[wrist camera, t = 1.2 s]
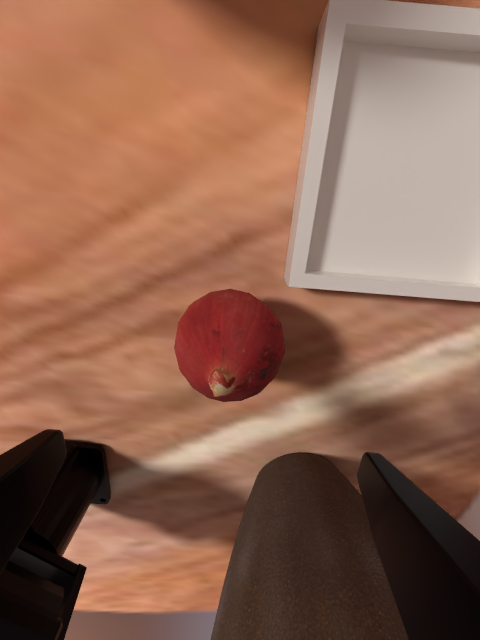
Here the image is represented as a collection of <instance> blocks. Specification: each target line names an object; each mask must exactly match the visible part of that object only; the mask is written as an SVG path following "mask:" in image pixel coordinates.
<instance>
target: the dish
mask: <svg viewBox="0 0 480 640" xmlns="http://www.w3.org/2000/svg"><path fill="white" fill-rule="evenodd" d="M284 280H285V281H286V283H287V285H288V287H299V288H311V289H324V290H336V291H349V292H361V293H374V294H386V295H399V296H412V297H424V298H437V299H449V300H462V301H474V302H480V9H479V8H468V7H456V6H445V5H434V4H422V3H411V2H400V1H388V0H328V3H327V6H326V8H325V11H324V13H323V16H322V19H321V21H320V24H319V26H318V33H317V40H316V47H315V55H314V62H313V69H312V77H311V84H310V91H309V99H308V106H307V113H306V121H305V128H304V135H303V143H302V150H301V157H300V165H299V172H298V179H297V186H296V194H295V201H294V208H293V216H292V223H291V230H290V238H289V245H288V252H287V260H286V267H285V274H284Z"/></svg>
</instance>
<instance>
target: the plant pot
mask: <svg viewBox="0 0 480 640" xmlns="http://www.w3.org/2000/svg"><path fill="white" fill-rule="evenodd" d="M211 640H409V639H408V636H407V633H406V631H405V628H404V625H403V622H402V619H401V617H400V614H399V611H398V608H397V605H396V602H395V600H394V597H393V594H392V591H391V588H390V585H389V583H388V580H387V577H386V574H385V571H384V569H383V566H382V563H381V560H380V557H379V554H378V552H377V549H376V546H375V543H374V540H373V536H372V533H371V529H370V526H369V522H368V518H367V514H366V510H365V506H364V502H363V498H362V496H361V494H360V493H359V492H358V491H357V490H356V489H355V487H354V486H353V485H352V484H351V483H350V482H349V481H348V480H347V479H346V477H345V476H344V475H343V474H342V473H341V472H340V471H339V470H338V469H337V468H336V467H335V465H333V464H332V463H331V462H330V461H328V460H327V459H325V458H323V457H320V456H318V455H314V454H308V453H294V454H288V455H284V456H281V457H278V458H276V459H274V460H272V461H271V462H269V463H268V464H267V465H265V466H264V467H263V468H262V470H261V471H260V472H259V474H258V476H257V478H256V480H255V483H254V486H253V488H252V491H251V494H250V497H249V500H248V503H247V505H246V508H245V511H244V514H243V517H242V521H241V524H240V527H239V530H238V534H237V537H236V540H235V544H234V547H233V551H232V555H231V558H230V562H229V566H228V569H227V573H226V577H225V581H224V585H223V589H222V593H221V597H220V602H219V606H218V610H217V614H216V619H215V623H214V627H213V632H212V636H211Z"/></svg>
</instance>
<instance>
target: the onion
mask: <svg viewBox="0 0 480 640" xmlns="http://www.w3.org/2000/svg"><path fill="white" fill-rule="evenodd" d="M174 348H175V353H176V357H177V361H178V365H179V369H180V371H181V373H182V374H183V375H184V376H185V378H186V379H187V381H188V382H189V383H190V385H191V386H192V388H194V389H195V390H197V391H198V392H200V393H202V394H203V395H205V396H206V397H208V398H211V399H215V400H219V401H222V402H227V401H242V400H244V399H247V398H249V397H252V396H254V395H257V394H258V393H260V392H261V391H262V390H263V389H264V388H265V387H266V386H267V385H268V384H269V383H270V382H271V381H272V380H273V379H274V378H275V376H276V374H277V372H278V369H279V367H280V364H281V361H282V358H283V355H284V353H285V345H284V339H283V332H282V326H281V323H280V321H279V320H278V319H277V317H276V316H275V314H274V313H273V311H272V310H271V309H270V307H269V306H268V305H266V304H265V303H263V302H261V301H260V300H259V299H257V298H256V297H254V296H253V295H251V294H250V293H246V292H242V291H237V290H233V289H227V290H220V291H214V292H210V293H208V294H207V295H205V296H203V297H201V298H200V299H198V300H196V301H194V302H193V303H192V304H191V305H190V306H189V307H188V309H187V310H186V312H185V313H184V315H183V316H182V318H181V319H180V321H179V322H178V328H177V334H176V340H175V346H174Z"/></svg>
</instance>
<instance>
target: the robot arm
mask: <svg viewBox="0 0 480 640" xmlns="http://www.w3.org/2000/svg"><path fill="white" fill-rule="evenodd" d="M357 477H358V482H359V486H360V490H361V494H362V498H363V502H364V506H365V510H366V514H367V518H368V522H369V526H370V529H371V533H372V536H373V540H374V543H375V546H376V549H377V552H378V554H379V557H380V560H381V563H382V566H383V569H384V571H385V574H386V577H387V580H388V583H389V585H390V588H391V591H392V594H393V597H394V600H395V602H396V605H397V608H398V611H399V614H400V617H401V619H402V622H403V625H404V628H405V631H406V633H407V636H408V639H409V640H480V541H479V540H478V539H477V538H476V537H474V536H473V535H472V534H471V533H470V532H469V531H467V530H466V529H465V528H464V527H463V526H462V525H461V524H460V523H458V522H457V521H456V520H455V519H454V518H453V517H452V516H450V515H449V514H448V513H447V512H446V511H445V510H444V509H442V508H441V507H440V506H439V505H438V504H437V503H436V502H434V501H433V500H432V499H431V498H430V497H429V496H428V495H426V494H425V493H424V492H423V491H422V490H421V489H420V488H418V487H417V486H416V485H415V484H414V483H413V482H412V481H410V480H409V479H408V478H407V477H406V476H405V475H404V474H402V473H401V472H400V471H399V470H398V469H397V468H396V467H394V466H393V465H392V464H391V463H390V462H389V461H388V460H386V459H385V458H384V457H383V456H382V455H380V454H379V453H372V452H365V453H364V454H363V456H362V459H361V463H360V466H359V469H358V474H357ZM110 498H111V495H110V487H109V480H108V473H107V466H106V458H105V451H104V448H103V447H102V446H101V445H97V444H83V443H70V442H65V441H64V436H63V432H62V431H60V430H52V429H47V430H44V431H42V432H40V433H39V434H37V435H35V436H33V437H31V438H30V439H28V440H26V441H24V442H23V443H21V444H19V445H17V446H15V447H14V448H12V449H10V450H8V451H7V452H5V453H3V454H1V455H0V640H64V638H65V634H66V631H67V628H68V625H69V622H70V619H71V615H72V612H73V609H74V606H75V603H76V600H77V597H78V593H79V590H80V587H81V584H82V581H83V578H84V575H85V571H86V567H85V566H83V565H81V564H79V565H77V564H75V563H73V562H71V561H70V560H68V559H66V558H64V557H62V556H63V554H64V552H65V550H66V548H67V546H68V545H69V543H70V541H71V539H72V537H73V535H74V533H75V532H76V530H77V528H78V526H79V524H80V522H81V520H82V518H83V517H84V515H85V513H86V511H87V509H88V507H89V505H90V503H95V504H107V503H108V502H109V500H110Z"/></svg>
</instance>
